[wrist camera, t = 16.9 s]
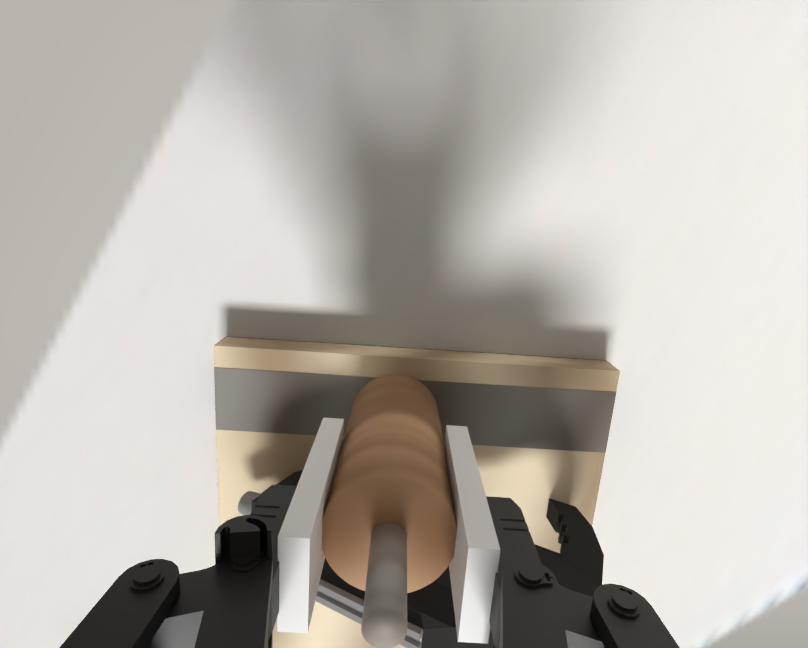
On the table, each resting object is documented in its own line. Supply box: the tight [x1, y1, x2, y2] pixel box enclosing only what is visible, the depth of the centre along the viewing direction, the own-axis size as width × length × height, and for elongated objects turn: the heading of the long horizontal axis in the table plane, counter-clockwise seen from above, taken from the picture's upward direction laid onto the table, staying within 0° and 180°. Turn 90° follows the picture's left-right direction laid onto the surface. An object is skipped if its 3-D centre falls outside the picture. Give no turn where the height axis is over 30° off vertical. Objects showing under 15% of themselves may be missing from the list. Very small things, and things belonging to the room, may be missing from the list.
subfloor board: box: [214, 337, 620, 648], centre depth 24 cm, size 18×17×2 cm
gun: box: [238, 470, 604, 648], centre depth 21 cm, size 3×16×10 cm, turn 86°
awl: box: [322, 374, 457, 648], centre depth 16 cm, size 4×4×11 cm
